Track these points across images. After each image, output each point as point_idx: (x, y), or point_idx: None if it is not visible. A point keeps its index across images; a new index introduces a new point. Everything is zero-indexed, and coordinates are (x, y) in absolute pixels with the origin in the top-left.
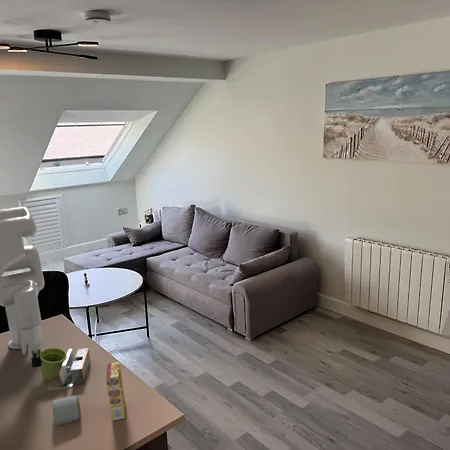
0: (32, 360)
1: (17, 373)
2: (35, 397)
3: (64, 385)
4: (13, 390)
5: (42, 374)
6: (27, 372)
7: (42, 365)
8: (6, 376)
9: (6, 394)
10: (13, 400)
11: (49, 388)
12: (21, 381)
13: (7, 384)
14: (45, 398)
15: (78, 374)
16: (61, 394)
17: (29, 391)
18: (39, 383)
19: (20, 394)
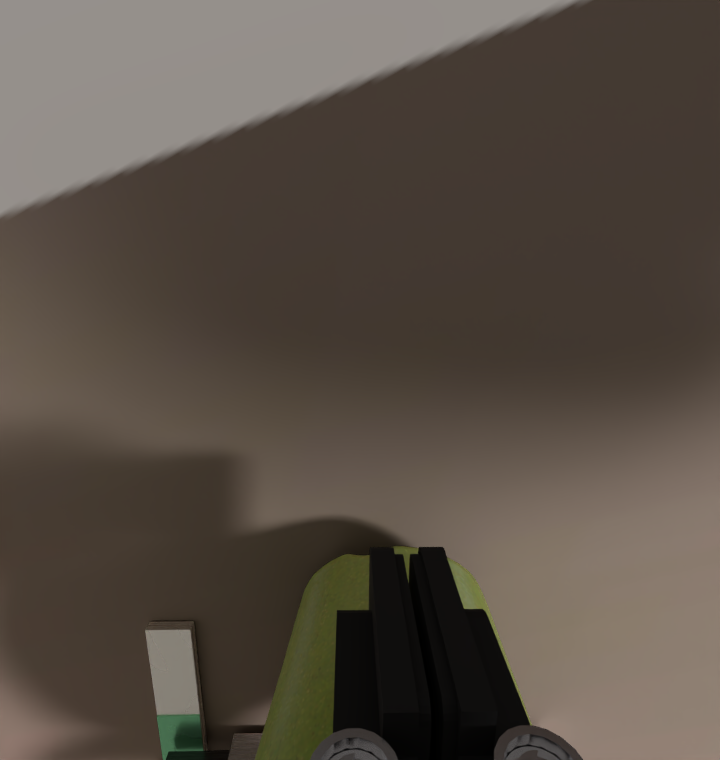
0: (376, 670)
1: (587, 181)
2: (45, 533)
3: (168, 758)
4: (202, 257)
5: (325, 590)
6: (565, 310)
7: (293, 746)
8: (561, 36)
9: (128, 194)
10: (4, 323)
11: (158, 635)
12: (378, 296)
13: (352, 127)
14: (24, 623)
15: None
16: (75, 731)
17: (157, 447)
18: (290, 508)
19: (111, 367)
